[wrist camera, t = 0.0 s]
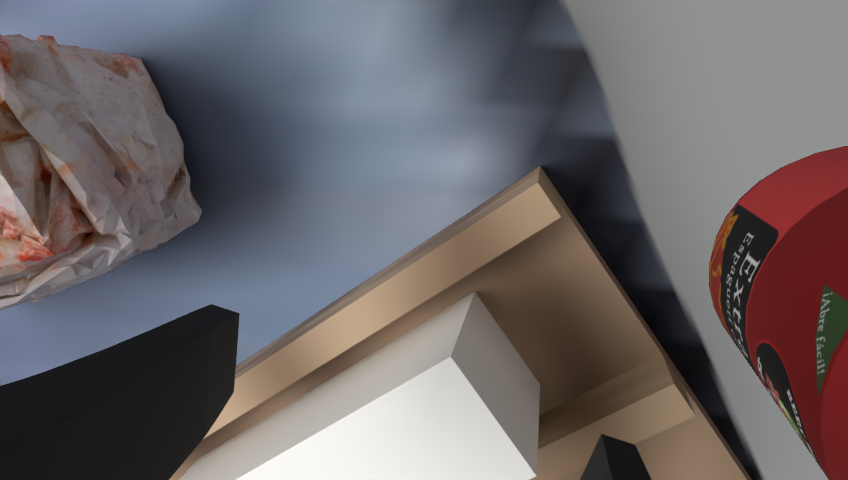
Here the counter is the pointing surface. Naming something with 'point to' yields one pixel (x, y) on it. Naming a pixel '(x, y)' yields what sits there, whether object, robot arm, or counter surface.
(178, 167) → the food item
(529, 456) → the white bar
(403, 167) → the counter surface
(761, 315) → the canned food
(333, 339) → the slot board
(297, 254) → the counter surface
